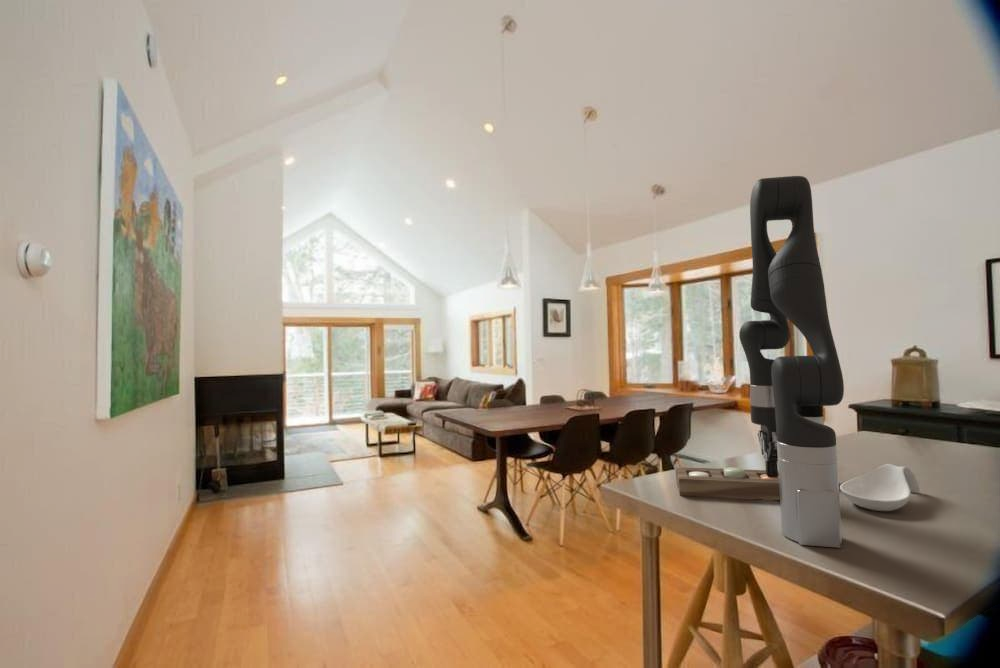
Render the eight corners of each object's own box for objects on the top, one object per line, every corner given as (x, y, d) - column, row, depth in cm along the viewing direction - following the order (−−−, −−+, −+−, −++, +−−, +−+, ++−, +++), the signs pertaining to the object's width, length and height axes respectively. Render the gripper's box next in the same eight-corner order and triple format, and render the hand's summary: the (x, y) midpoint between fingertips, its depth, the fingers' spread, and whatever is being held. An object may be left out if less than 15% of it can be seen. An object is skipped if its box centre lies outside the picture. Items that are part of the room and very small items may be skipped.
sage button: (747, 484, 110) (746, 472, 110) (726, 483, 111) (725, 471, 111) (743, 479, 114) (742, 467, 114) (722, 478, 116) (722, 467, 116)
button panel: (804, 502, 104) (803, 484, 104) (679, 495, 111) (679, 478, 111) (789, 487, 114) (788, 471, 114) (676, 482, 122) (675, 467, 122)
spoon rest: (899, 522, 91) (896, 485, 92) (831, 506, 101) (829, 473, 101) (939, 497, 104) (937, 465, 104) (875, 485, 114) (873, 456, 114)
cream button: (710, 488, 112) (710, 476, 112) (690, 487, 113) (689, 476, 113) (708, 483, 116) (707, 471, 117) (688, 482, 118) (687, 471, 118)
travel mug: (799, 483, 117) (794, 403, 117) (796, 476, 123) (792, 400, 123) (829, 486, 114) (824, 404, 115) (825, 479, 120) (820, 401, 120)
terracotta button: (786, 492, 107) (785, 479, 108) (763, 491, 109) (763, 478, 109) (780, 486, 112) (779, 474, 112) (758, 485, 113) (758, 473, 113)
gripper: (794, 407, 104) (798, 485, 103) (777, 400, 116) (781, 469, 116) (757, 407, 106) (761, 484, 105) (744, 400, 118) (748, 468, 118)
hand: (771, 476), depth 111 cm, fingers closed
